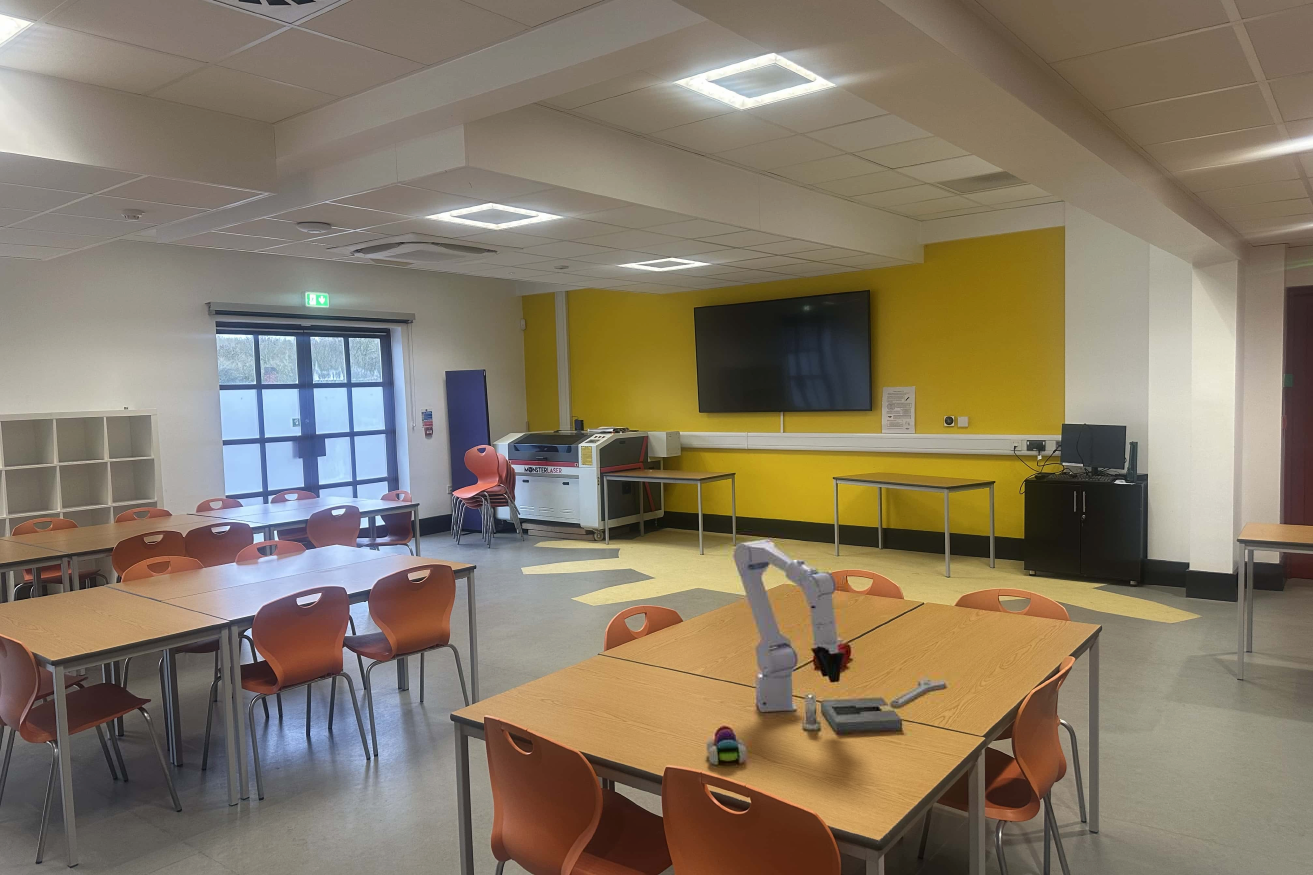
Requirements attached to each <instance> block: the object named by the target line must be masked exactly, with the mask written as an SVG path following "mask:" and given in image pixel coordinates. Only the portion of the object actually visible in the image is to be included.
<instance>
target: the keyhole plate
mask: <svg viewBox="0 0 1313 875" xmlns="http://www.w3.org/2000/svg"><path fill="white" fill-rule="evenodd" d="M820 712H821V713H822V715H823V717H824V718H825V719H826V721H827V722H828V724H829V725H830V727H831V728H832V730H833V731H834V733H835V734H836V735H845V734H846V735H849V734H867V733H870V734H872V733H886V732H888V733H889V732H903V719H902V717H901V716H900V715H899V714H898V713H897V712H896V711H895V710H894V709H893V707H891V706H890V705H889V704H888V702H886V701H885V699H884V697H882V696H880V697H879V696H878V697H861V698H843V699H842V698H841V699H823V700H820Z"/></svg>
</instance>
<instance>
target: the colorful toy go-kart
mask: <svg viewBox="0 0 1313 875" xmlns="http://www.w3.org/2000/svg"><path fill="white" fill-rule="evenodd" d="M747 752H748V751H747V748H746V747H745V742H744V741H743V740H742V739H741V738H739V737H737V736H736V733H735V731H734V730H733V728H731V727H730V726H727V725H721V726H720V727H718V728H717V730H716V731H715V733H714V738H711V739H709V740H708V741H707V743H706V753H707V754H708V761H709V762H710V763H711V764H713V765H715V766H718V764H719V760H720V761H725V762H731V761H736V760H737V762H738V764H743V763H744V762H745V761H746V760H747V758H748V753H747Z"/></svg>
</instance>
